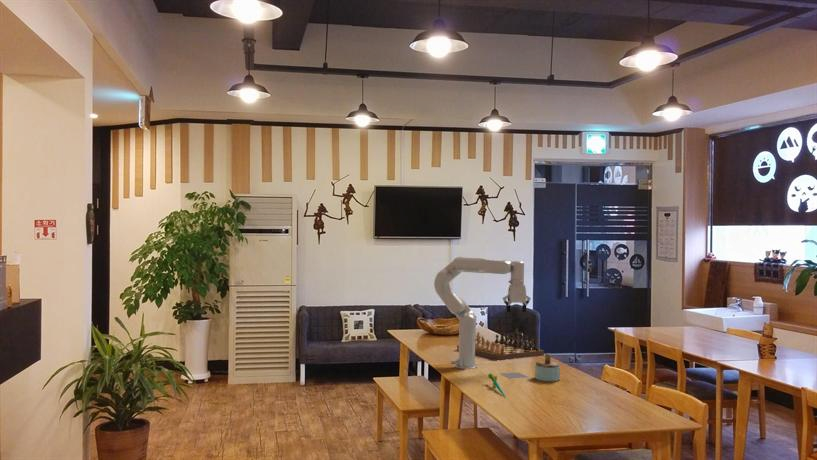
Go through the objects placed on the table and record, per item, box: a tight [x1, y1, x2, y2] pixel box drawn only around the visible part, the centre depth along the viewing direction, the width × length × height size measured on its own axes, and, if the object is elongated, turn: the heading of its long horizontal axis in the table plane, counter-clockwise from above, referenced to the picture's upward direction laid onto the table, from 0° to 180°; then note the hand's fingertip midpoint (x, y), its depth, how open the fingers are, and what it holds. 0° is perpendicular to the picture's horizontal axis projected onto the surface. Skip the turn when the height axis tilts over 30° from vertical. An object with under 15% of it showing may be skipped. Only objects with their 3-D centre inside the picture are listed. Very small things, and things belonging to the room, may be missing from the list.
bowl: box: [534, 363, 561, 383], centre depth 367 cm, size 13×13×8 cm
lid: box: [535, 353, 560, 368], centre depth 367 cm, size 12×12×6 cm
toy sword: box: [487, 373, 506, 398], centre depth 341 cm, size 3×6×30 cm
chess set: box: [456, 328, 545, 361], centre depth 447 cm, size 40×40×15 cm
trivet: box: [499, 372, 528, 379], centre depth 374 cm, size 12×12×1 cm
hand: (516, 312), depth 391 cm, fingers open, 9 cm apart
